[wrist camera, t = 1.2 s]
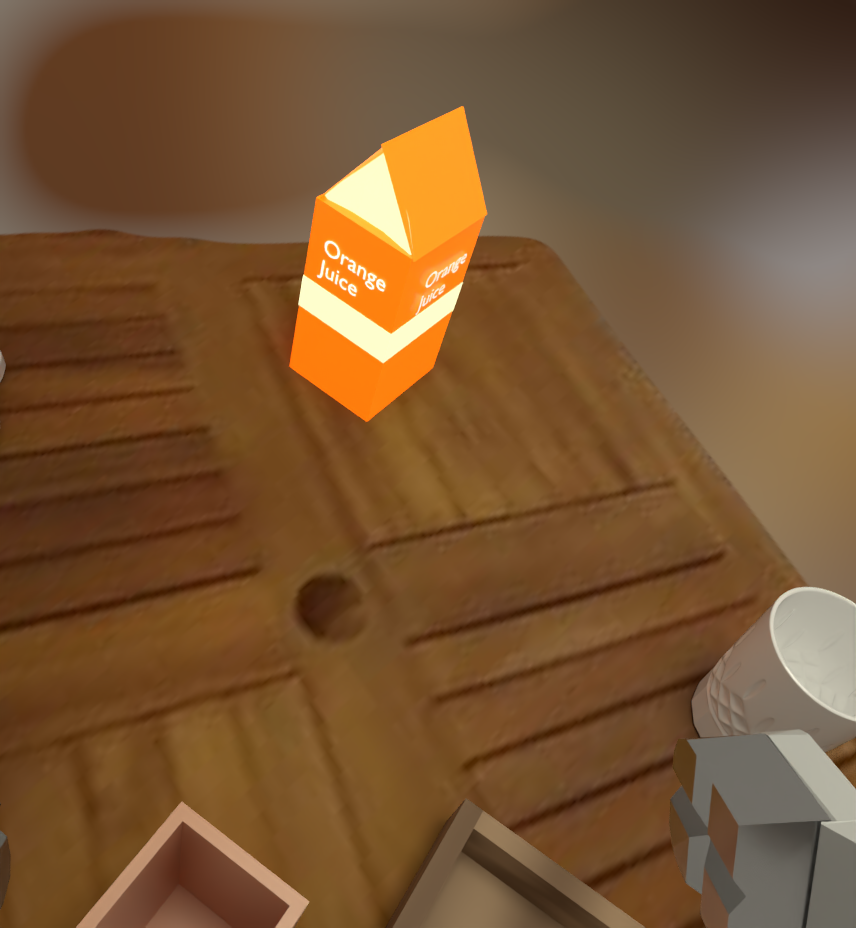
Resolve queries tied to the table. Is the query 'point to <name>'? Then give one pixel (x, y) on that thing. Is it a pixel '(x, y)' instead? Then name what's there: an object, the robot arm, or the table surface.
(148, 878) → the pink square pot
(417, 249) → the orange juice
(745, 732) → the white cup
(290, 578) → the table surface
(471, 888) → the large crate
